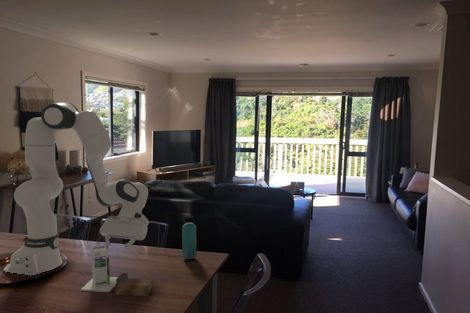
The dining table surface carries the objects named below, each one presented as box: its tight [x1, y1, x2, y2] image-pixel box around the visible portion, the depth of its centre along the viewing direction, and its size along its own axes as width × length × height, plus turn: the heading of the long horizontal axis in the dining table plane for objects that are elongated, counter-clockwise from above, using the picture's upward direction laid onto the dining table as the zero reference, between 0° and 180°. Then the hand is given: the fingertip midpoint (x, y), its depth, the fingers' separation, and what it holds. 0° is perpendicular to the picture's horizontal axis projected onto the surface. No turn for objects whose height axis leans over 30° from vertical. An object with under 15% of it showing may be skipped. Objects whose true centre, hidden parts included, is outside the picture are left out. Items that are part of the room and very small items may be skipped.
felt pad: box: [80, 276, 118, 293], centre depth 142 cm, size 11×11×1 cm
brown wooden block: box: [115, 272, 153, 297], centre depth 136 cm, size 12×5×6 cm, turn 85°
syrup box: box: [91, 243, 111, 287], centre depth 141 cm, size 6×6×14 cm
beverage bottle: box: [181, 215, 198, 260], centre depth 166 cm, size 6×7×20 cm
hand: (116, 247), depth 150 cm, fingers open, 8 cm apart
